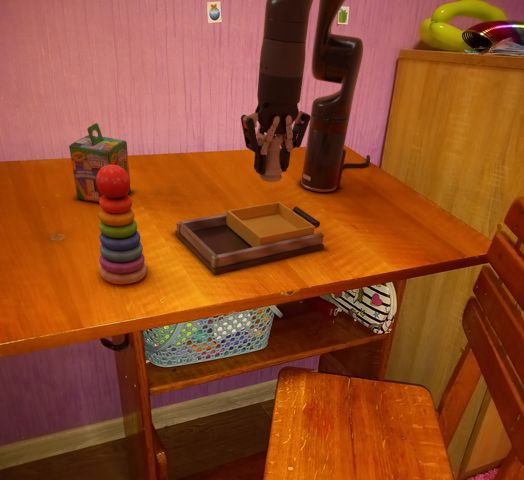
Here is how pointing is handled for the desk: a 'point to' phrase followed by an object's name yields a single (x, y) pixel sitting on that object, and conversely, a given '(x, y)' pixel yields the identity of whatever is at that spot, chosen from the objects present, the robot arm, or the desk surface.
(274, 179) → the rook chess piece
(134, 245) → the stacking toy
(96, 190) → the chalk box
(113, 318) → the desk surface
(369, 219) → the desk surface
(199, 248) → the base
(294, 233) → the tray
